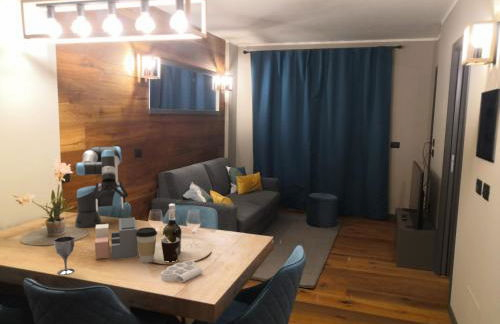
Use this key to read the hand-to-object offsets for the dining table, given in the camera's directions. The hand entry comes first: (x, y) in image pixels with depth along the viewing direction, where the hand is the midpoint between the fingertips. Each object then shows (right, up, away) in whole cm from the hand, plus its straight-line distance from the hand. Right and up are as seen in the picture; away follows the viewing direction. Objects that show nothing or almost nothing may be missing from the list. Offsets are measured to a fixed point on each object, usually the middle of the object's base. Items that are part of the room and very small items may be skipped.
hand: (109, 209), depth 225 cm
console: (+14, -18, -20) cm, 31 cm away
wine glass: (-3, -22, -47) cm, 52 cm away
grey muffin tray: (+48, -23, -49) cm, 72 cm away
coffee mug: (+41, -20, -31) cm, 55 cm away
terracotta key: (+6, -19, -28) cm, 35 cm away
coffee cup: (+29, -20, -33) cm, 49 cm away
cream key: (+3, -18, -19) cm, 26 cm away
